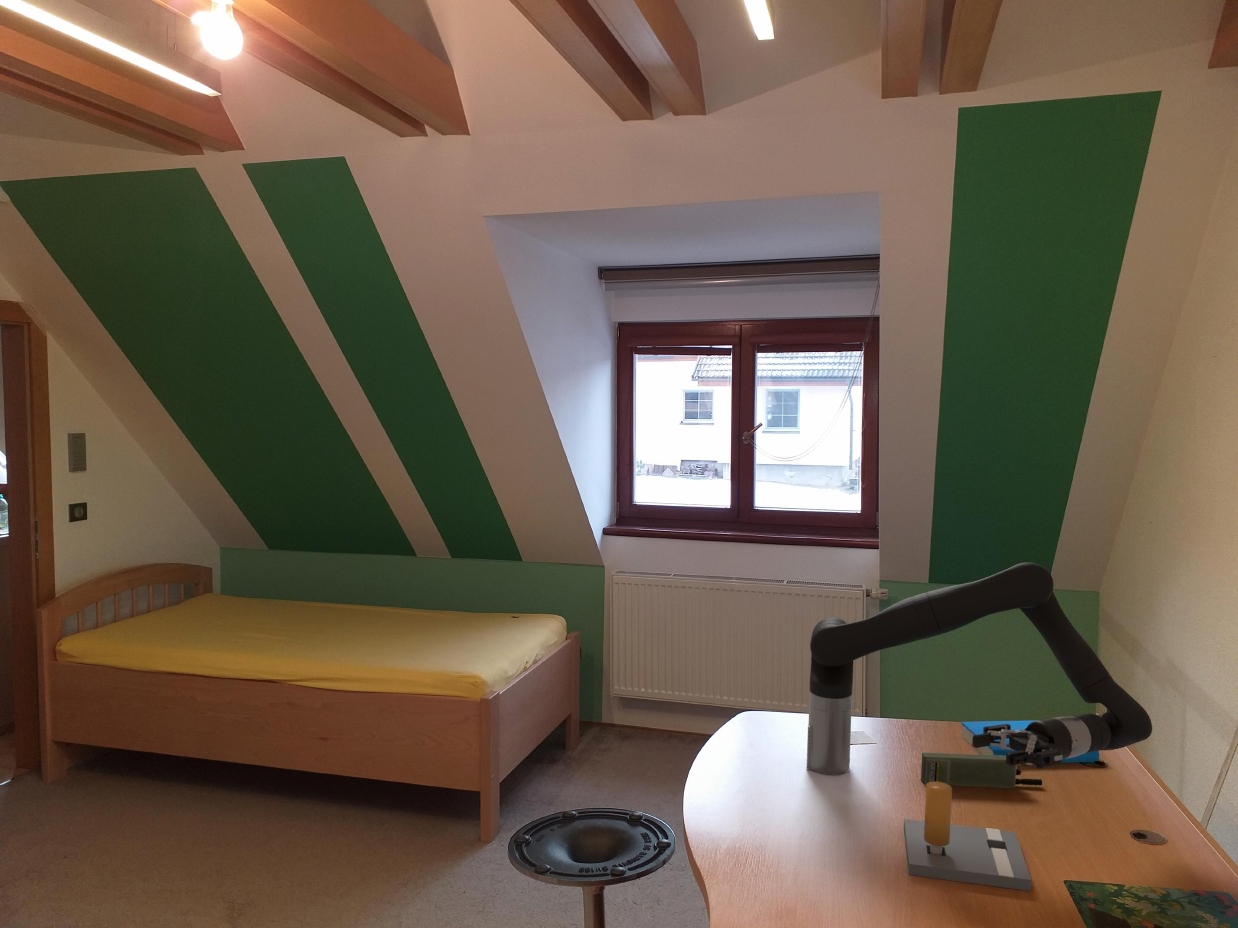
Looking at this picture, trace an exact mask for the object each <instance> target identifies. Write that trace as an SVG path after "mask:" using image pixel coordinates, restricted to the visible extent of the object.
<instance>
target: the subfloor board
mask: <svg viewBox="0 0 1238 928" xmlns="http://www.w3.org/2000/svg"><path fill="white" fill-rule="evenodd" d="M924 822H925V820H917V819H910V818H903V835H904V843H905V853H906V863H907V874H908V875H909V876H916V877H925V878H932V879H939V880H946V881H953V882H960V883H961V882H962V883H968V884H976V885H982V886H983V885H984V886H991V887H996V888H997V887H999V888H1004V889H1005V888H1007V889H1013V890H1019V891H1028V892H1031V891H1032V877H1031V875H1030V872H1029V869H1028V866H1027V862H1026V861H1025V857H1024V854H1023V852H1022V848H1021V846H1020V843H1019V839H1018V837H1017V834H1016V832H1015V831H1007V830H1000V829H999V828H991V827H985V828H984V827H976V826H975V827H974V826H966V825H960V824H959V825H958V824H952V823H950V842H949V844H948V845H946V846H942V856H941V855H933V854H930V845H931V844H929V843H927V842H926V841H925V840H924Z"/></svg>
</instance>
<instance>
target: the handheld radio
mask: <svg viewBox="0 0 1238 928" xmlns="http://www.w3.org/2000/svg"><path fill="white" fill-rule="evenodd" d="M1019 766H1020V767H1021V766H1022V764H1019V765H1014V766H1009V765H1007V764H1006V756H1003V755H982V754H974V753H973V754H969V753H951V752H950V753H948V752H946V753H945V752H921V770H920V782H921V783H922V784H923V785H926V784H927V783H929V782H942V783H946V784H948V785H950V786H958V787H960V786H961V787H981V788H983V787H984V788H985V787H986V788H1002V789H1004V788H1005V789H1015V788H1016V785H1017V786H1019V785H1022V786H1043V781H1042V779H1041V778H1040V779H1039V778H1018V777H1017V776H1021V774H1022V771H1021V769H1017V767H1019Z"/></svg>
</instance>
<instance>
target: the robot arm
mask: <svg viewBox="0 0 1238 928" xmlns="http://www.w3.org/2000/svg"><path fill="white" fill-rule="evenodd" d="M1054 588H1055V587H1054V578H1053V577H1052V574H1051V573H1050V571H1049V570H1048V569H1047V568H1046V567H1044V566H1043V565H1040V564H1038V563H1035V562H1030V561H1028V562H1027V561H1026V562H1021V563H1017V564H1014V565H1012V566H1011V567H1009V568H1007V569H1006V568H1005V569H1004V570H1002V571H999V572H997V573H994V574H992V575H990V576H987V577H984V578H980V579H979V580H974V581H970V582H966V583H961V584H955V585H951V586H946V587H941V588H938V589H934V590H930V591H927V592H923V593H919V594H916V595H912V596H909V597H907V598H904V599H902V600H900V601H898V602H896V603H893V604H892V605H889V606H888V607H886V608H885V609H883V610H881V611H880V612H877V613H876V614H873V615H872V616H869V617H867V618H864V619H859V620H856V621H851V622H846V621H845V620H844V619H841V618H840V617H835V616H834V617H826V618H823V619H821V620H819V622H817V623H816V625H815V626H814V628H813V629H812V633H811V636H810V642H809V643H810V644H809V646H810V653H811V656H810V659H811V661H810V673H809V674H810V675H809V693H808V694H809V696H808V697H809V701H808V703H809V704H808V725H807V745H806V746H807V747H806V769H807V770H811V771H813V772H816V773H819V774H823V775H832V776H833V775H834V776H835V775H841V774H845V773H848V771H849V770H850V764H851V763H850V761H851V757H850V756H851V735H852V734H851V733H852V708H853V707H852V705H853V686H854V685H853V683H854V661H855V660H857V659H860V658H863V657H865V656H868V655H870V654H873V653H875V652H879V651H881V650H886V649H890V648H895V647H899V646H903V645H907V644H909V643H913V642H918V641H921V640H927V639H930V638H933V637H937V636H940V635H941V636H942V635H943V634H947V633H950V632H953V631H955V630H958V629H961V628H963V627H965V626H968V625H969V624H972V623H974V622H976V621H978V620H980V619H982V618H985V617H988V616H990V615H993V614H997V613H1001V612H1006V611H1010V610H1018V609H1019V610H1020V611H1021V613H1023V614H1024V615H1025V617H1026V618H1028V620H1029V621H1030V622H1031V624H1032V625H1033V626H1034V627H1035V629H1036V630H1037V631H1038V633H1039V634H1040V635H1041V636H1042V638H1043V640H1044V641H1045V643H1046V644H1047V646H1048V647H1049V649H1050V651H1051V652H1052V654H1053V656H1054V657H1055V660H1056V661H1057V662H1058V664H1059V666H1060V668H1062V670H1063V672H1064V674H1065V675H1066V676H1067V678H1068V679H1069V682H1071V684H1072V685H1073V687H1074V688H1075V690H1076V691H1077V693H1078V695H1079V696H1080V697H1081V699H1082V700H1083V701H1084V702H1085V703H1086V704H1100V705H1102V706H1104V708H1106V709H1107V710H1108V711H1106V712H1103V713H1100V714H1094V713H1085V714H1077V715H1072V716H1057V717H1051V718H1046V719H1040V720H1039V719H1038V720H1039V721H1034V722H1031V723H1030V724H1029V725H1028V726H1027V728H1026V729H1025V730H1011V725H1009V724H1001V725H994V726H986V727H983V734H979V735H974V736H973V739H972V745H971V747H973V748H974V747H975V748H979V747H985V746H990V745H994V746H1000V747H1001V748H1002V749H1007V750H1016V751H1015V752H1010V753H1007V754H1006V764H1007V765H1009V766H1014V765H1019V764H1021V765H1024V763H1025V765H1027V766H1032V765H1035V766H1034V767H1035V768H1036V769H1038V770H1039V769H1044V768H1049V767H1050V768H1051V767H1052V766H1053V767H1054V766H1057V765H1061V764H1062V759H1067V758H1072V757H1076V756H1079V755H1081V754H1085V753H1090V752H1095V751H1099V752H1100V751H1113V750H1119V749H1123V748H1125V747H1129V746H1132V745H1134V744H1137V743H1140V742H1143V741H1145V740H1147V739H1149V738H1150V736H1151V735H1152V733H1153V724H1152V719H1151V717H1150V715H1149V714H1148V712H1147V710H1145V708H1144V707H1143V706H1142V705H1141V704H1140V703H1139V702H1138V701H1137V700H1136V699H1135V698H1134V697H1132V696H1131V695H1130V694H1129V693H1128V692H1127V691H1126V690H1125V689H1124V688H1123V687H1122V686H1120V685H1119V684H1118V683H1117V682H1116V680H1115V679H1114V678H1113V677H1112V675H1111V674H1110V672H1109V670H1108V669H1107V668H1106V666H1105V665H1104V664H1103V662H1102V661H1101V659H1100V658H1099V657H1098V655H1097V653H1096V652H1095V651H1094V649H1092V647H1091V646H1090V645H1089V643H1088V642H1087V641H1086V639H1084V638H1083V636H1081V634H1080V633H1079V632H1078V631H1077V629H1076V628H1075V626H1074V625H1073V624H1072V622H1071V621H1070V620H1069V618H1068V617H1067V615H1066V614H1065V612H1064V610H1063V609H1062V607H1061V605H1060V603H1059V601H1058V598H1057V597H1056V595H1055V593H1054ZM1007 738H1009V745H1007V744H1005V740H1007ZM994 740H1000V741H994ZM975 748H974V749H975Z"/></svg>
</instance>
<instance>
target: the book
mask: <svg viewBox="0 0 1238 928" xmlns="http://www.w3.org/2000/svg"><path fill="white" fill-rule="evenodd" d="M1034 721H1039V719H1038V720H1034V719H1033V720H992V721H991V720H989V721H985V720H984V721H983V720H982V721H961V722H960V723H961V733H960V736H961V738H962V739H964V740H965V741H966V742H967V743H968V744H969V745H970V746H972V739H973V736H974V735H979V734H983V727H986V726H994V725H1001V724H1009V725H1011V730H1025V729H1026V728H1027V726H1028V725H1029V724H1030V723H1031V722H1034ZM994 741H1000V740H994ZM1005 744H1007V745H1009V738H1007V740H1005ZM973 748H974V749H975V750H976V751H977V752H978V753H979V754H980V755H1003V756H1006V754H1007V753H1010V752H1015V751H1016V750H1007V749H1002V748H1001V747H1000V746H994V745H990V746H985V747H979V748H975V747H973ZM1099 760H1100V750H1099V751H1095V752H1090V753H1085V754H1081V755H1079V756H1076V757H1072V758H1067V759H1062V763H1068V764H1069V763H1096V762H1095V761H1098V762H1099ZM1062 763H1061V764H1062ZM1024 764H1025V763H1024ZM1024 764H1023V765H1024ZM1025 765H1026V764H1025Z"/></svg>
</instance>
